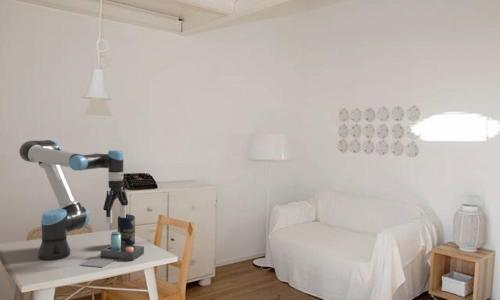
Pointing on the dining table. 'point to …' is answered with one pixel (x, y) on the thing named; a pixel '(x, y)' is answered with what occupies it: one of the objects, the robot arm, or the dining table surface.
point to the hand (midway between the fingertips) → (116, 220)
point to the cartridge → (115, 240)
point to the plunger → (130, 249)
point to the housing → (122, 253)
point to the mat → (97, 262)
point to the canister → (127, 229)
